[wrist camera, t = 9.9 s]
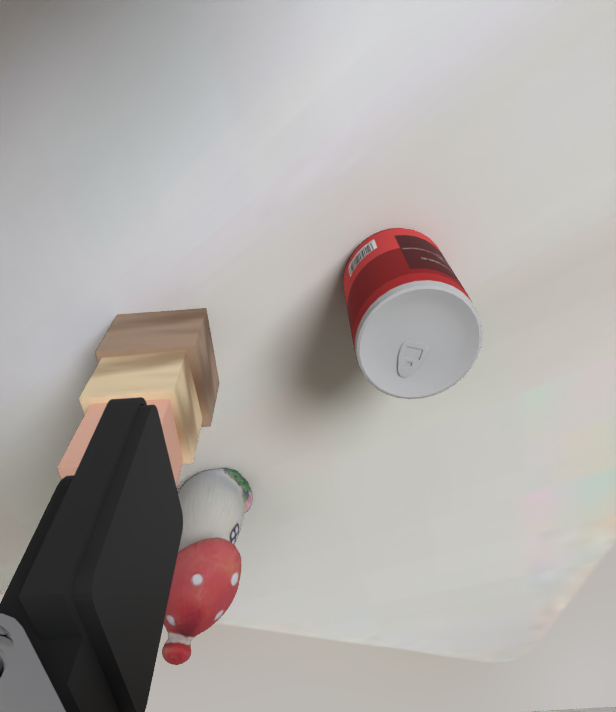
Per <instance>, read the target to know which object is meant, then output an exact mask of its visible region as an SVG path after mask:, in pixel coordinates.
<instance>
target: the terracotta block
mask: <svg viewBox="0 0 616 712" xmlns="http://www.w3.org/2000/svg"><path fill="white" fill-rule="evenodd" d="M145 401H146V403H147V405H156V407H157V410H158V413H159V417H160V421H161V425H162V430H163V434H164V438H165V442H166V446H167V450H168V454H169V459H170V463H171V467H172V471H173V475H174V479H175V483H176V487H177V483H178V479H179V475H180V471H181V467H182V463H183V457H182V452H181V448H180V443H179V438H178V434H177V429H176V425H175V420H174V415H173V411H172V406H171V402H170V399H158V400H145ZM106 405H107V403H93V404H90V406H89V408H88V410H87V412H86V414H85V416H84V417H83V419H82V421H81V423H80V425H79V427H78V429H77V431H76V433H75V435H74V437H73V439H72V440H71V442H70V444H69V446H68V448H67V450H66V452H65V454H64V456H63V458H62V460H61V462H60V463H59V465H58V467H57V469H58V471H59V474H60V477H61V480H62V479H63V478H64V477H66V476H71V475H75V472H76V470H77V468H78V466H79V464H80V462H81V459H82V457H83V455H84V453H85V451H86V449H87V446H88V444H89V442H90V440H91V438H92V436H93V433H94V431H95V429H96V427H97V425H98V423H99V420H100V418H101V416H102V414H103V412H104V409H105V407H106Z"/></svg>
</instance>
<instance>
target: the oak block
mask: <svg viewBox="0 0 616 712" xmlns="http://www.w3.org/2000/svg"><path fill="white" fill-rule="evenodd" d="M138 397H142V398H144V399H145V400H158V399H170V402H171V406H172V411H173V415H174V420H175V425H176V429H177V434H178V438H179V443H180V448H181V452H182V457H183V463H182V464H193V460H194V455H195V451H196V446H197V442H198V437H199V433H200V428H201V424H202V414H201V410H200V406H199V401H198V397H197V393H196V389H195V384H194V380H193V376H192V371H191V367H190V363H189V359H188V354H187V350H180V351H169V352H159V353H148V354H137V355H127V356H116V357H106V358H101V360H100V362H99V363H98V365H97V367H96V369H95V371H94V372H93V374H92V376H91V378H90V380H89V381H88V383H87V385H86V387H85V388H84V390H83V392H82V394H81V396H80V397H79V400H80V403H81V406H82V409H83V412H84V414H86V412H87V410H88V408H89V406H90V404H93V403H108V402H109V400H111V399H122V398H138Z"/></svg>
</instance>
